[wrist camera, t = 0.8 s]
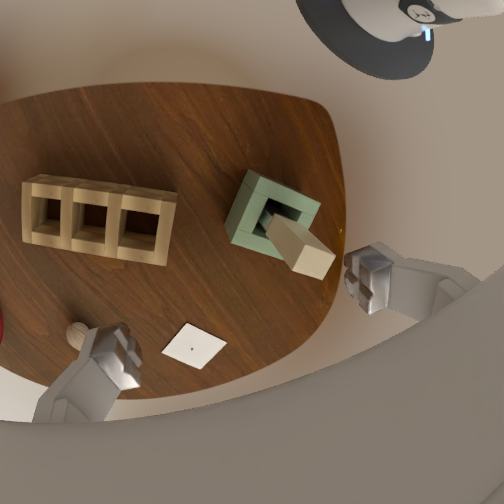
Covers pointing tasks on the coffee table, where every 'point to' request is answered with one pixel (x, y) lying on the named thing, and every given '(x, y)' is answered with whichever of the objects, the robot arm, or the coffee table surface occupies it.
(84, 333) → the figurine
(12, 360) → the coffee table surface
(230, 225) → the holder
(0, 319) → the headphones
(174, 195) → the rack
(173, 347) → the white flat sheet
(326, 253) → the knife
